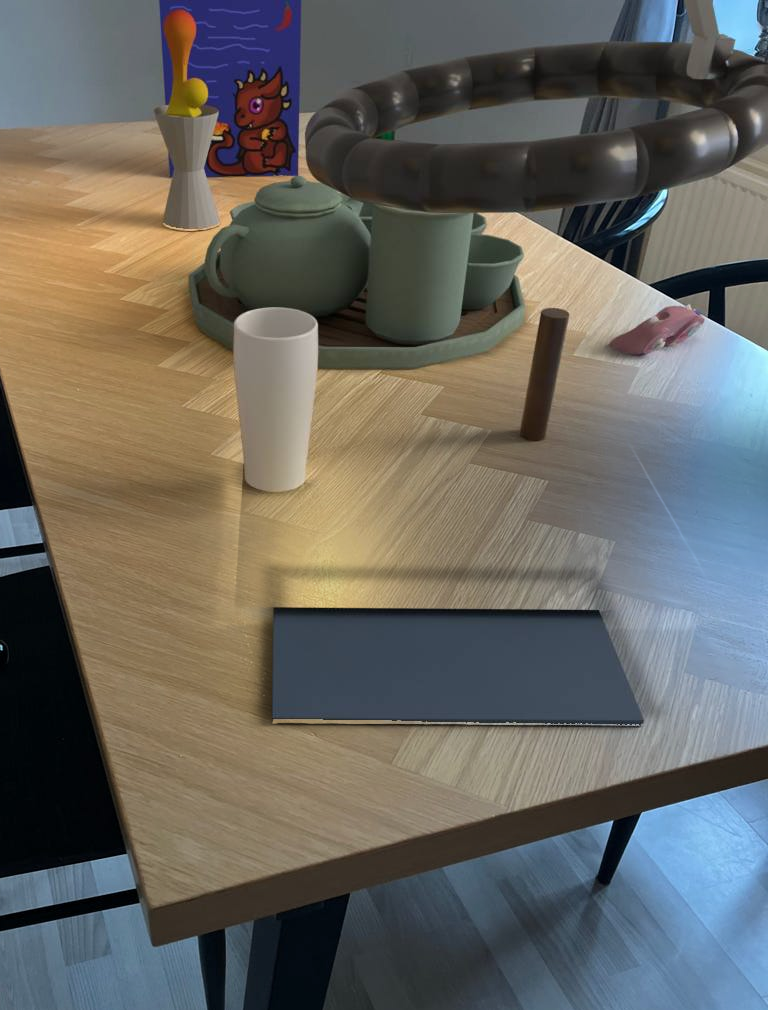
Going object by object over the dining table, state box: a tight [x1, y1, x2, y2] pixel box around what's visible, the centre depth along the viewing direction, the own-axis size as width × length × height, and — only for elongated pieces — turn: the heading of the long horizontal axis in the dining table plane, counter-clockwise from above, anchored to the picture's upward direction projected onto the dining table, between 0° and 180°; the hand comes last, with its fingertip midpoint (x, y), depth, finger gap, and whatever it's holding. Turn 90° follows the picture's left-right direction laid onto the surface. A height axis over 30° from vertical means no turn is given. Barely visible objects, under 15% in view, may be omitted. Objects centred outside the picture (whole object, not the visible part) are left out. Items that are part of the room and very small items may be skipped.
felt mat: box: [271, 606, 645, 725], centre depth 69 cm, size 24×15×1 cm, turn 90°
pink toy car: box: [608, 303, 706, 356], centre depth 108 cm, size 10×5×7 cm, turn 126°
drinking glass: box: [232, 307, 319, 493], centre depth 81 cm, size 7×7×15 cm
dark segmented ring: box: [304, 40, 768, 214], centre depth 50 cm, size 24×24×3 cm
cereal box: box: [158, 0, 302, 179], centre depth 158 cm, size 22×6×30 cm, turn 96°
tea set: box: [187, 175, 526, 371], centre depth 113 cm, size 40×40×16 cm
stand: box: [518, 307, 570, 443], centre depth 88 cm, size 8×8×13 cm
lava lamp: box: [153, 9, 221, 229], centre depth 134 cm, size 9×9×35 cm
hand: (743, 78), depth 49 cm, fingers closed on dark segmented ring, 2 cm apart
